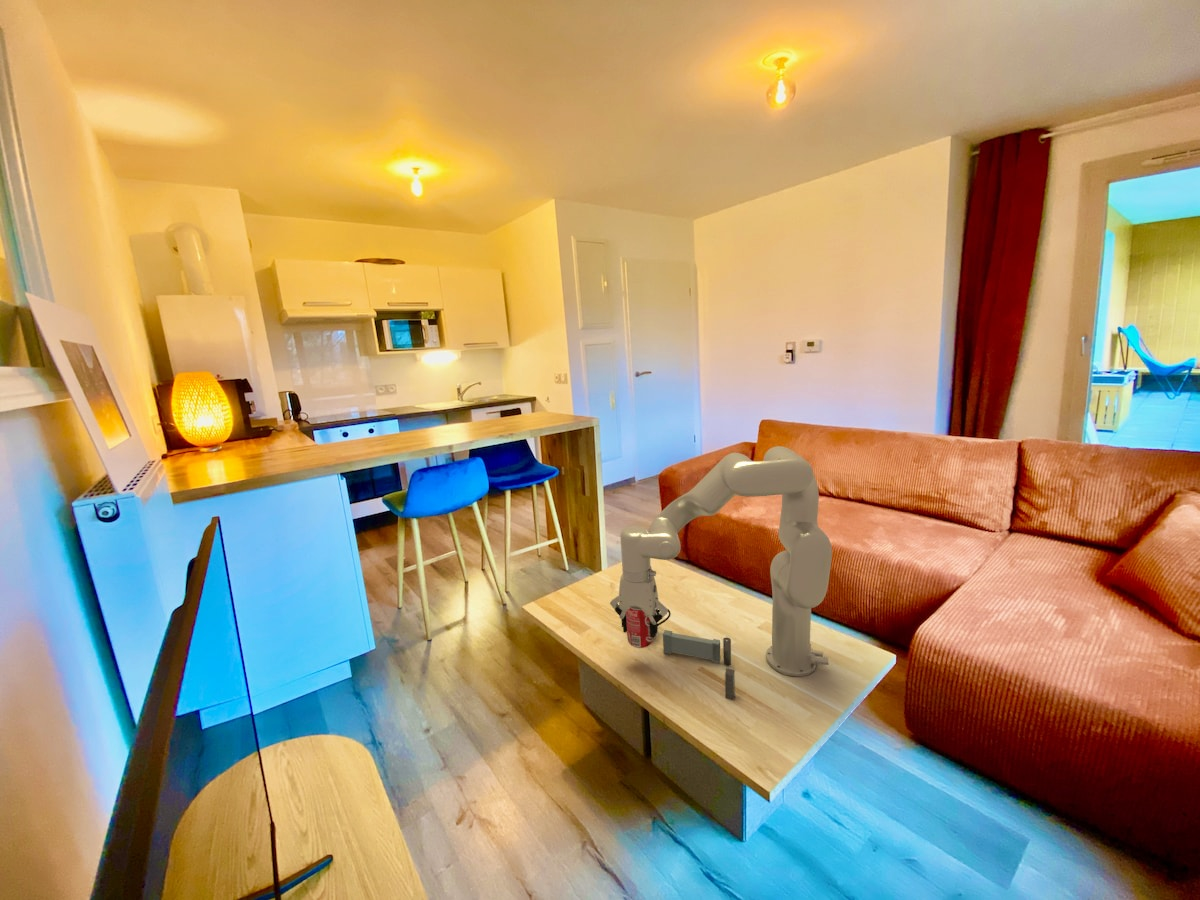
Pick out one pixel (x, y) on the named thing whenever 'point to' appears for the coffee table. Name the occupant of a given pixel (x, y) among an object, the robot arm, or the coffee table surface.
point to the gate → (691, 646)
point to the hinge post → (727, 651)
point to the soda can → (638, 628)
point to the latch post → (729, 684)
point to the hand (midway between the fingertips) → (639, 631)
